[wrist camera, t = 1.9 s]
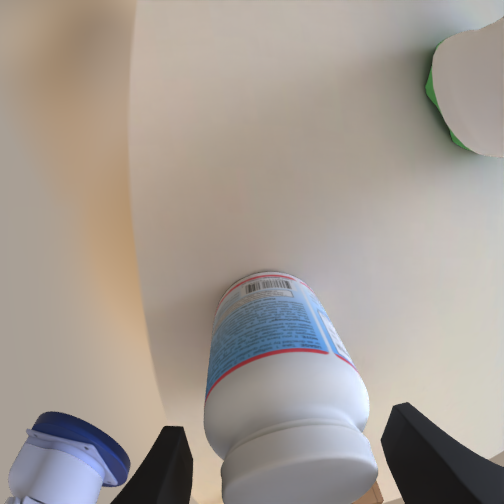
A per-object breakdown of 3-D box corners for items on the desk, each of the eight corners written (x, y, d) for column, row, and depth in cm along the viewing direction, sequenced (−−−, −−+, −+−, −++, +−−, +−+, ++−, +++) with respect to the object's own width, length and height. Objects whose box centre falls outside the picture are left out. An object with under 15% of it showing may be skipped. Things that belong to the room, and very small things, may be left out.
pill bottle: (200, 343, 18) (173, 517, 7) (238, 251, 16) (241, 419, 5) (292, 371, 19) (329, 530, 8) (338, 290, 17) (439, 441, 6)
